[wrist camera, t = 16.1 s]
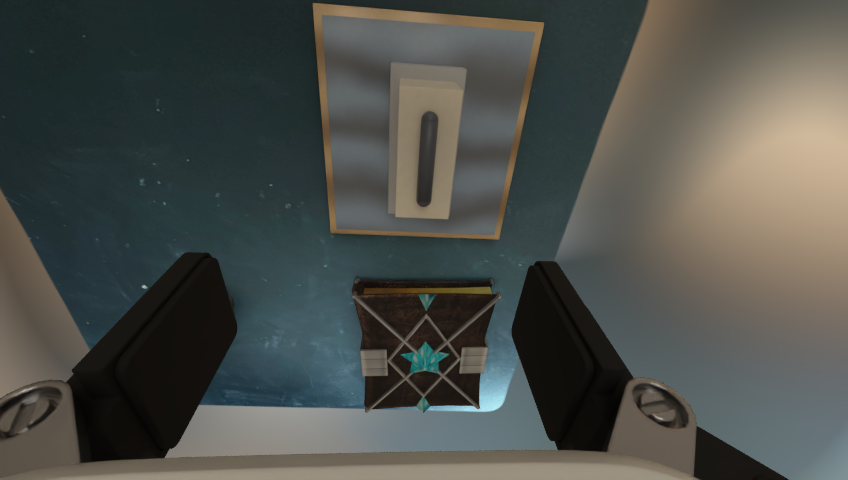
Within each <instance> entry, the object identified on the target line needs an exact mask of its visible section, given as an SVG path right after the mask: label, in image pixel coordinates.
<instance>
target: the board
mask: <svg viewBox="0 0 848 480" xmlns="http://www.w3.org/2000/svg"><path fill="white" fill-rule="evenodd" d="M313 16H314V29H315V41H316V54H317V66H318V79H319V91H320V104H321V116H322V129H323V141H324V154H325V166H326V179H327V191H328V204H329V216H330V229H331V233H345V234H371V235H397V236H423V237H449V238H475V239H499V237H500V232H501V227H502V222H503V218H504V213H505V208H506V203H507V199H508V194H509V189H510V184H511V179H512V175H513V170H514V165H515V160H516V156H517V151H518V146H519V141H520V137H521V132H522V127H523V122H524V118H525V113H526V108H527V103H528V99H529V94H530V89H531V84H532V80H533V75H534V70H535V65H536V61H537V56H538V51H539V46H540V42H541V37H542V32H543V27H544V23H543V22H531V21H520V20H508V19H496V18H484V17H473V16H461V15H449V14H437V13H426V12H414V11H402V10H390V9H379V8H367V7H355V6H343V5H332V4H320V3H313ZM391 62H399V63H413V64H426V65H440V66H453V67H464V68H466V69H467V73H466V82H465V90H464V98H463V107H462V115H461V123H460V132H459V140H458V148H457V157H456V165H455V173H454V182H453V190H452V198H451V207H450V215H449V216H448V219H430V218H406V217H395V214H388V174H389V117H390V64H391Z"/></svg>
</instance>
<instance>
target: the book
mask: <svg viewBox="0 0 848 480" xmlns="http://www.w3.org/2000/svg"><path fill="white" fill-rule="evenodd" d="M354 283H355V284H354V285H353V288H352V293H353V295H352V297H353V298H354V301H355V305H356V309H357V313H358V317H359V321H360V325H361V328H362V334H363V335H362V342H361V349H360V354H361V363H362V373H363V376H365V400H364V405H365V407H366V408H365V412H368V411H370V410H371V409H382V408H394V407H412V406H416V407H417V408H418V409H419V410H421V411H422V412H423V413H424V412H425V411H426V410H427V409H428V408H429V407H430V406H445V405H456V406H475V407H476V408H477V409H479V408H480V406H479V382H480V374H481V373H484V368H485V362H486V356H487V351H488V346H487V342H486V338H485V335H486V331H487V328H488V325H489V322H490V319H491V315H492V312H493V309H494V306H495V303H496V302H497V301H498V300H499V299H500V298H501V295H500V293H499V292H497V293H496V294H492V291H491V287H492V285H493V284H494V281H493V279H492V278H491V279H489V280H488V281H456V282H400V281H370V280H363V281H361V280H360V279H359V278H358V277H356V278H355V281H354Z"/></svg>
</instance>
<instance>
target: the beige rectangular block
mask: <svg viewBox="0 0 848 480" xmlns="http://www.w3.org/2000/svg"><path fill="white" fill-rule="evenodd" d="M466 73H467V69H466V68H464V67H453V66H440V65H426V64H413V63H399V62H391V64H390V117H389V174H388V214H395V217H406V218H430V219H448V216H449V215H450V207H451V198H452V190H453V182H454V173H455V165H456V157H457V148H458V140H459V132H460V123H461V115H462V107H463V98H464V90H465V82H466Z"/></svg>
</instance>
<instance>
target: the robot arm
mask: <svg viewBox="0 0 848 480" xmlns="http://www.w3.org/2000/svg"><path fill="white" fill-rule="evenodd" d="M236 333H237V323H236V320H235V316H234V313H233V310H232V306H231V303H230V300H229V296H228V293H227V290H226V286H225V283H224V279H223V276H222V273H221V269H220V266H219V263H218V260H217V259H216V258H212V256H211V255H210V254H209V253H192V252H187V253H184V254H183V255H182V256H181V257H180V258H179V259H178V260H177V261H176V262H175V263H174V264H173V265H172V266H171V267H170V268H169V269H168V270H167V271H166V272H165V273H164V274H163V275H162V276H161V278H160V279H159V280H158V281H157V282H156V283H155V284H154V285H153V286H152V287H151V288H150V289H149V290H148V291H147V292H146V293H145V294H144V295H143V296H142V297H141V298H140V299H139V300H138V302H137V303H136V304H135V305H134V306H133V307H132V308H131V309H130V310H129V311H128V312H127V313H126V314H125V315H124V316H123V317H122V318H121V319H120V320H119V321H118V322H117V323H116V324H115V325H114V327H113V328H112V329H111V330H110V331H109V332H108V333H107V334H106V335H105V336H104V337H103V338H102V339H101V340H100V341H99V342H98V343H97V344H96V345H95V346H94V347H93V348H92V349H91V351H90V352H89V353H88V354H87V355H86V356H85V357H84V358H83V359H82V360H81V361H80V362H79V363H78V364H77V365H76V366H75V367H74V368H73V369H72V372H73V373H74V374H73V376H72V377H71V378H70V379H69V380H68V381H67V382H64V381H61V380H47V381H40V382H36V383H33V384H30V385H27V386H24V387H21V388H19V389H17V390H15V391H13V392H11V393H9V394H7V395H5V396H3V397H2V398H0V480H788V479H787V478H785V477H784V476H782V475H780V474H778V473H776V472H775V471H773V470H771V469H770V468H768V467H766V466H765V465H763V464H761V463H760V462H758V461H756V460H754V459H753V458H751V457H749V456H748V455H745V454H744V453H742V452H741V451H739V450H737V449H735V448H734V447H732V446H730V445H729V444H727V443H725V442H723V441H722V440H720V439H718V438H717V437H715V436H713V435H712V434H710V433H708V432H706V431H705V430H703V429H701V428H699V427H698V426H697V423H696V417H695V414H694V412H693V410H692V408H691V406H690V405H689V404H688V403H687V402H686V400H685V399H684V398H683V397H682V396H681V395H679V394H678V393H677V392H676V391H675V390H673V389H672V388H670V387H669V386H667V385H665V384H664V383H661V382H659V381H656V380H654V379H650V378H644V377H640V378H633V376H632V375H631V373H630V372H629V370H628V369H627V367H626V366H625V364H624V363H623V361H622V360H621V358H620V357H619V355H618V354H617V352H616V350H615V349H614V348H613V346H612V344H611V343H610V341H609V340H608V338H607V337H606V335H605V334H604V332H603V331H602V329H601V328H600V326H599V325H598V323H597V322H596V320H595V319H594V317H593V316H592V314H591V313H590V311H589V310H588V308H587V307H586V306H585V305H584V303H583V302H582V300H581V299H580V297H579V295H578V294H577V292H576V291H575V289H574V288H573V286H572V285H571V283H570V282H569V280H568V279H567V277H566V276H565V274H564V273H563V271H562V270H561V268H560V267H559V265H558V264H557V263H556V262H554V261H537V262H535V264H534V266H530V267H529V268H528V272H527V275H526V279H525V282H524V286H523V289H522V293H521V297H520V300H519V304H518V307H517V311H516V314H515V318H514V321H513V325H512V338H513V341H514V344H515V346H516V349H517V352H518V355H519V358H520V360H521V363H522V366H523V369H524V372H525V375H526V377H527V380H528V383H529V386H530V389H531V391H532V394H533V397H534V400H535V403H536V405H537V408H538V411H539V414H540V417H541V420H542V422H543V425H544V428H545V431H546V434H547V436H548V438H549V439H550V440H551V441H555V443H556V446H557V449H558V450H496V451H434V452H386V453H385V452H384V453H383V452H382V453H339V454H338V453H336V454H293V455H255V456H218V457H183V458H182V457H181V458H165V456H166V454H167V452H168V450H169V449H170V448H171V449H172V448H174V447H175V446H176V445H177V444H178V442H179V441H180V439H181V437H182V435H183V433H184V431H185V430H186V428H187V426H188V424H189V422H190V420H191V418H192V417H193V415H194V413H195V411H196V409H197V407H198V405H199V404H200V402H201V400H202V398H203V396H204V394H205V392H206V390H207V389H208V387H209V385H210V383H211V381H212V379H213V377H214V376H215V374H216V372H217V370H218V368H219V366H220V364H221V362H222V361H223V359H224V357H225V355H226V353H227V351H228V349H229V347H230V346H231V344H232V342H233V340H234V338H235V336H236Z"/></svg>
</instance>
